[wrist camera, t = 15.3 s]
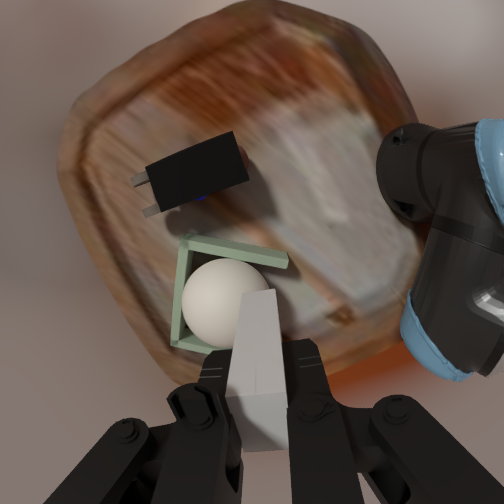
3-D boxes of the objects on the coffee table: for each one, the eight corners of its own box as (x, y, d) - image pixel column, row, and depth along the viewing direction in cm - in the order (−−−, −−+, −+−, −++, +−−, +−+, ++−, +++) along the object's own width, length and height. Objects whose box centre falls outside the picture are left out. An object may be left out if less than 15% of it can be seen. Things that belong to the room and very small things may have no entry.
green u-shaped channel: (286, 252, 39) (288, 260, 35) (261, 349, 43) (261, 364, 39) (188, 232, 39) (180, 238, 35) (177, 332, 43) (170, 345, 39)
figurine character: (163, 215, 40) (258, 179, 36) (137, 226, 32) (249, 181, 29) (148, 174, 38) (241, 133, 35) (120, 177, 31) (228, 125, 27)
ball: (273, 242, 32) (178, 240, 33) (267, 342, 27) (160, 333, 28) (274, 280, 42) (201, 277, 43) (270, 355, 37) (191, 349, 38)
